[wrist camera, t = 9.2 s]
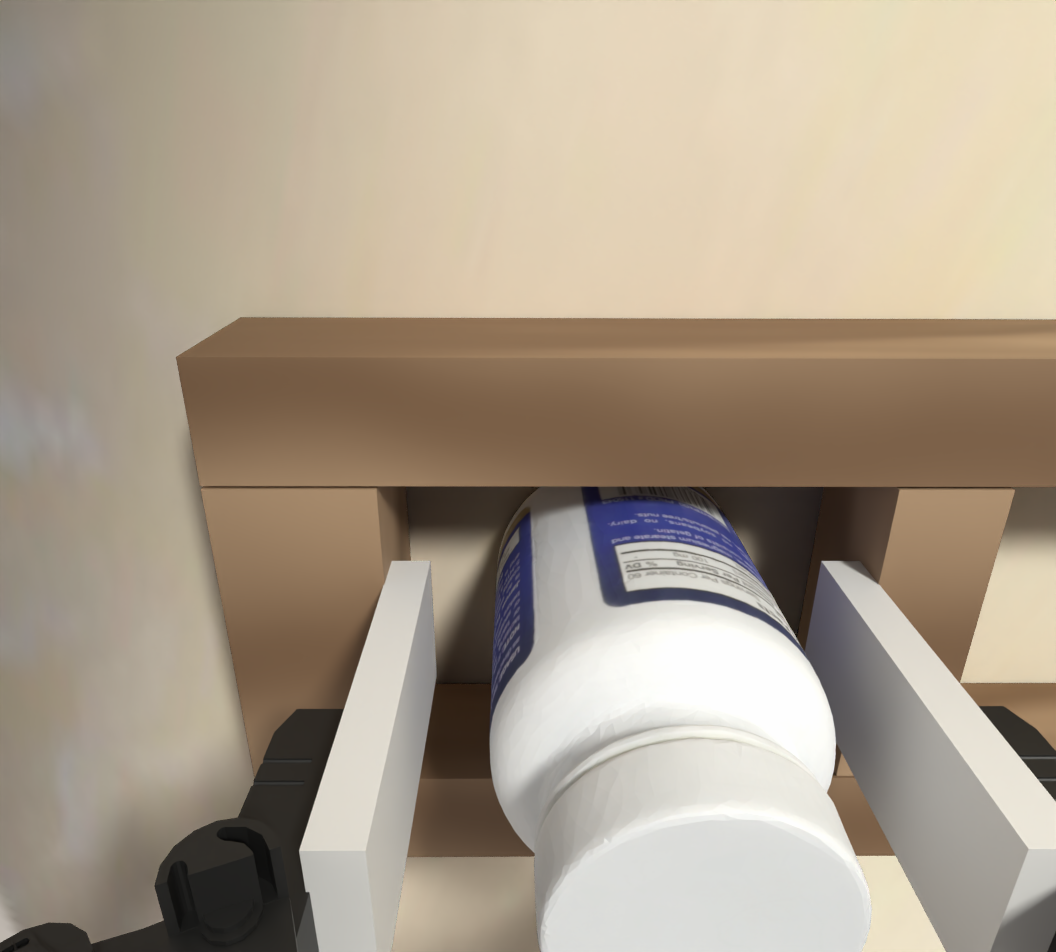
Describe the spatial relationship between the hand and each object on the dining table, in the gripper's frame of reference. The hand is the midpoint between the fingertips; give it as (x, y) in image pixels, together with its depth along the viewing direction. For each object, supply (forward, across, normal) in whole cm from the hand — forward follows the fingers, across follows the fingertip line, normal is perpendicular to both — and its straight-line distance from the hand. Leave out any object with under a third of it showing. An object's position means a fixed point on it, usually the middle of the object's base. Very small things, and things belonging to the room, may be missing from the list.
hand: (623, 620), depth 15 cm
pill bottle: (+2, 0, 0) cm, 2 cm away
